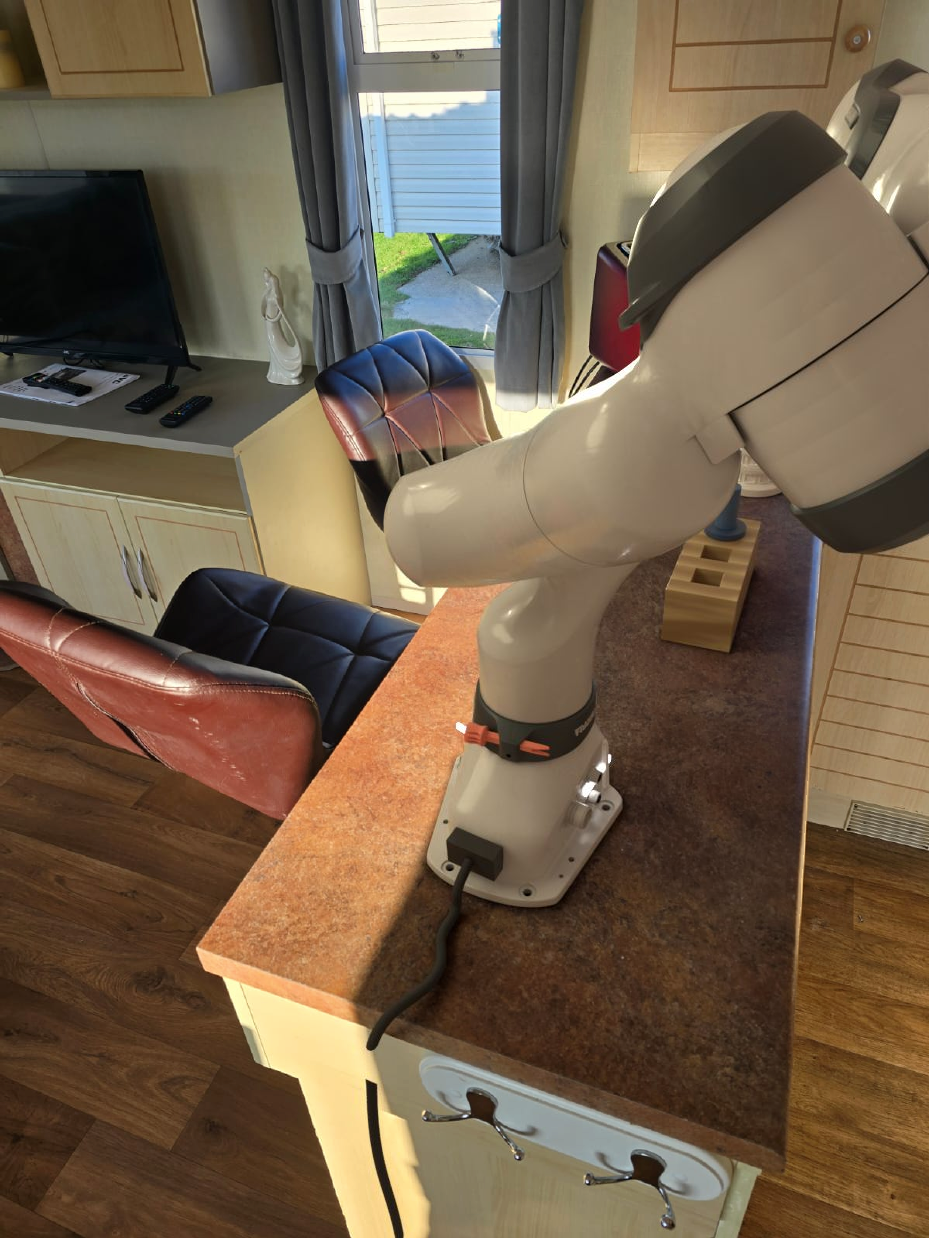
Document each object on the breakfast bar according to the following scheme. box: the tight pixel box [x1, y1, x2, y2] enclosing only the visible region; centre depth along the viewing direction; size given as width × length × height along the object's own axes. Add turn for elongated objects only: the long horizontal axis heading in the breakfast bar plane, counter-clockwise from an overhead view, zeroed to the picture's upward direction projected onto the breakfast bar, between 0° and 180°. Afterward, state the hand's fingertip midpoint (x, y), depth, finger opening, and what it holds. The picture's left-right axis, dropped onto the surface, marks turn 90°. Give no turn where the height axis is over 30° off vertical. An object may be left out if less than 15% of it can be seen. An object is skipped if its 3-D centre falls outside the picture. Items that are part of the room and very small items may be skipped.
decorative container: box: [738, 448, 782, 498], centre depth 142 cm, size 12×12×18 cm
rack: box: [660, 517, 762, 654], centre depth 116 cm, size 21×9×8 cm, turn 157°
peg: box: [704, 483, 746, 542], centre depth 118 cm, size 6×6×13 cm
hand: (876, 347), depth 89 cm, fingers open, 8 cm apart
